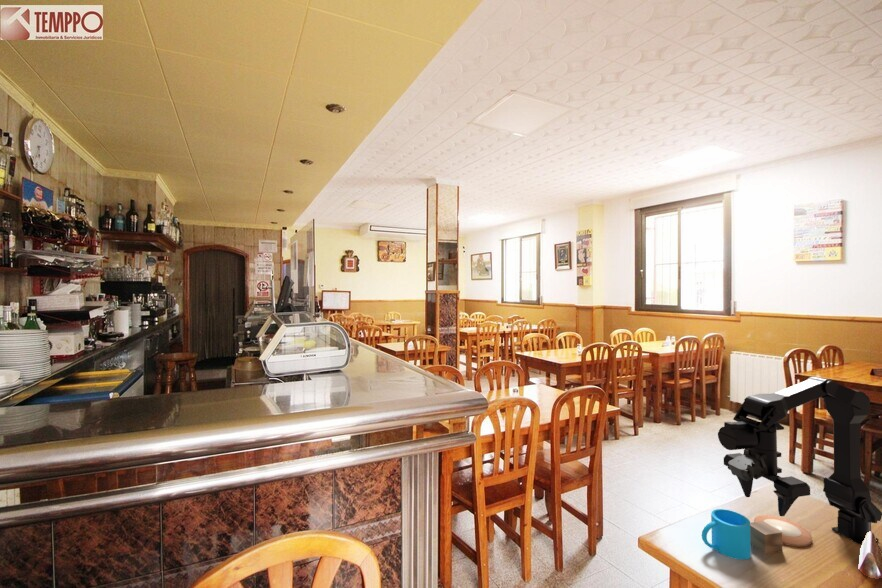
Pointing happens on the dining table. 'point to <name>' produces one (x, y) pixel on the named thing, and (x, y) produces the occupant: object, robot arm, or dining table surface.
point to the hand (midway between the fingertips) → (764, 506)
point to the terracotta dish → (788, 530)
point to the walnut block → (765, 537)
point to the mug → (729, 534)
